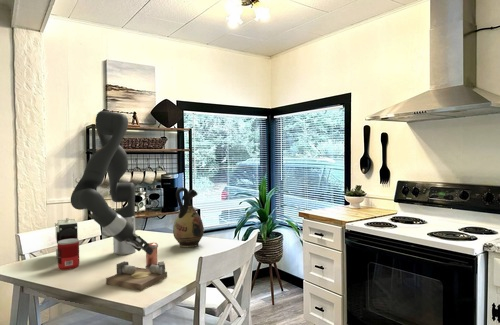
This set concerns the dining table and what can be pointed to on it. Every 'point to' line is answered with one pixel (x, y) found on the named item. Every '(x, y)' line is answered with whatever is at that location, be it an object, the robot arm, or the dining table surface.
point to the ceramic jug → (187, 221)
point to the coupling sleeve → (152, 256)
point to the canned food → (68, 254)
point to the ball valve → (66, 230)
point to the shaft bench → (137, 276)
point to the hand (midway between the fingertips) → (145, 251)
